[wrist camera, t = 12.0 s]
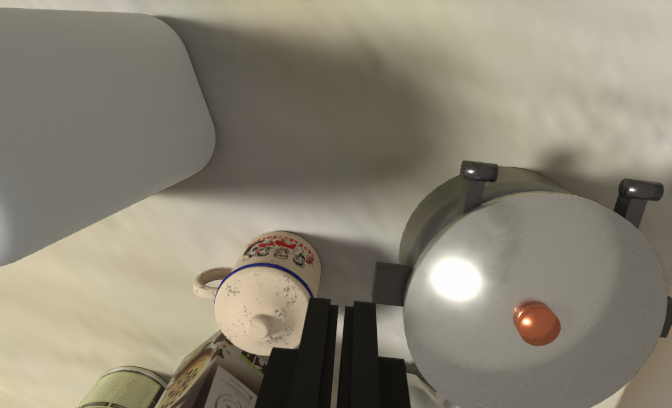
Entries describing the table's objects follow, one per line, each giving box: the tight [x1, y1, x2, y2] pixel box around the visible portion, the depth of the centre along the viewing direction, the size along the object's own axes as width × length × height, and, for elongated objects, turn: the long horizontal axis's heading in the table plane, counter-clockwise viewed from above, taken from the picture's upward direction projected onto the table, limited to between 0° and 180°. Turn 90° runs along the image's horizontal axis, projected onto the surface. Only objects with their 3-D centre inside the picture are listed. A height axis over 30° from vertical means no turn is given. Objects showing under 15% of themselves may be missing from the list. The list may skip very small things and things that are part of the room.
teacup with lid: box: [193, 231, 321, 356], centre depth 42 cm, size 12×9×12 cm
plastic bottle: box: [0, 8, 216, 266], centre depth 30 cm, size 15×15×28 cm
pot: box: [372, 161, 672, 338], centre depth 41 cm, size 21×25×10 cm
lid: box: [403, 191, 667, 408], centre depth 35 cm, size 20×20×3 cm
